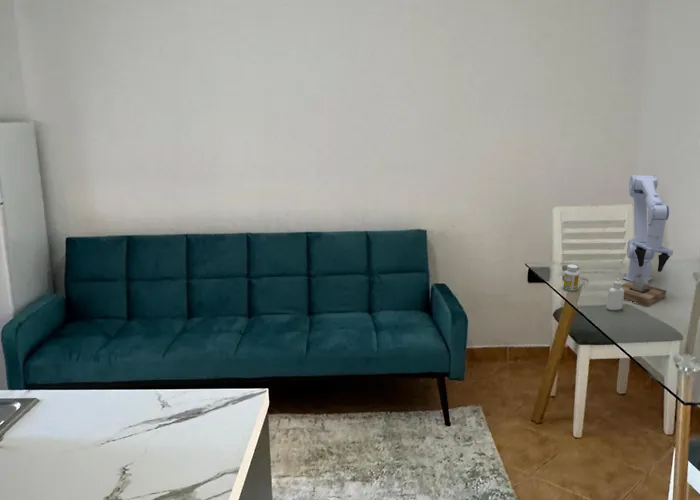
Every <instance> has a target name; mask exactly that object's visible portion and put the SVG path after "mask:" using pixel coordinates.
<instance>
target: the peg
mask: <svg viewBox="0 0 700 500" xmlns="http://www.w3.org/2000/svg"><path fill="white" fill-rule="evenodd" d="M648 280H649V276H645V275H642V274H637V275H635V276H634V279H633V286H632V290H633V291H636V292H639V293H642V294H644V293H646V292H647V287H648V285H649V281H650V280H649V281H648Z"/></svg>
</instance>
